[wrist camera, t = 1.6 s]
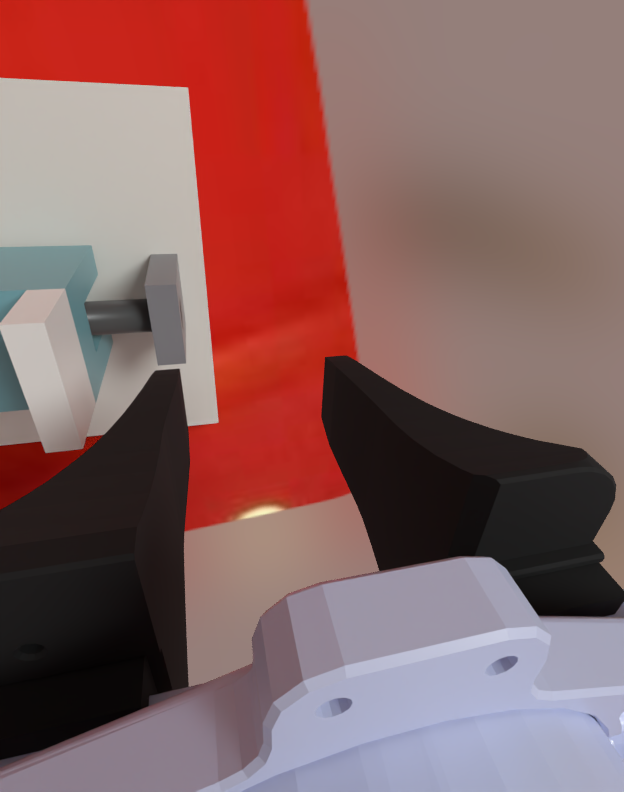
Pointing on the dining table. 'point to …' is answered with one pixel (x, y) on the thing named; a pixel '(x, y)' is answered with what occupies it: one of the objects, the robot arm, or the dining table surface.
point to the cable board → (114, 228)
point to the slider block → (50, 341)
